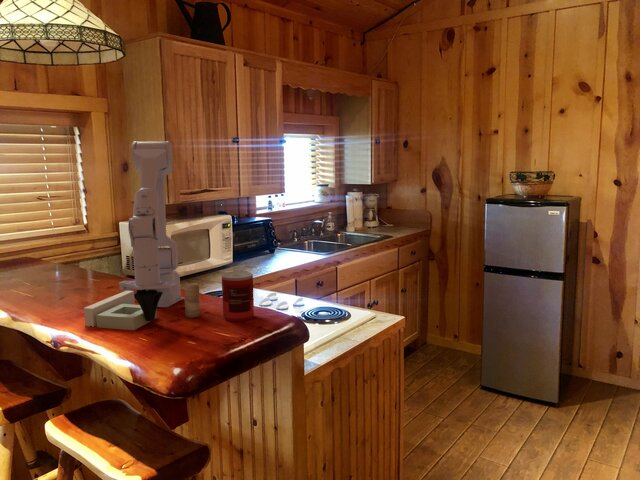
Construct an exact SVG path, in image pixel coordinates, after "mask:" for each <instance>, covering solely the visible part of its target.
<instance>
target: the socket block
mask: <svg viewBox="0 0 640 480" xmlns="http://www.w3.org/2000/svg"><path fill="white" fill-rule="evenodd" d="M157 309H158V308H157ZM157 309H156V313H155V319H157V318H158V310H157ZM96 317H97V326H96V327H97V328H101V329H102V328H103V329H115V330H124V331H125V330H128V331H136V330H137V329H139V328H140V327H142V326H145V325H146V324H147V325H148V323H151V321H146V320H145V317H144V314H143V311H142V309H141V307H140V305H139V304H135V305H132V304H120V305H118V306H116V307H113V308H111V309H109V310H107V311H105V312H102V313H100V314H98V315H96ZM155 319H154V320H155Z"/></svg>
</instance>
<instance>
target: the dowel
mask: <svg viewBox="0 0 640 480" xmlns="http://www.w3.org/2000/svg"><path fill="white" fill-rule="evenodd" d="M183 290H184V309H185V310H184V312H185V313H184V314H185V317H186V318H190V319H192V318H193V319H194V318H197V317H200V315H201V306H200V301H201V300H200V284H199V283H197V282H196V283H185V284H184V288H183Z"/></svg>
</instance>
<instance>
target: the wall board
mask: <svg viewBox="0 0 640 480" xmlns="http://www.w3.org/2000/svg"><path fill="white" fill-rule="evenodd" d="M134 294H135V290H123V291H122V292H120V293H117V294H115V295H113V296H109V297H107V298H105V299H102V300H100V301H98V302H95V303H92V304H90V305H87V306H85V307H84V308H83V317H84V326H85V327H90V326H92V327H91V328H93V327H94V326H95V327H97V317H96V315H98V314H100V313H102V312H105V311H107V310H109V309H111V308H113V307H116V306H118V305H120V304H132V305H136V304H135V300H136V299H135V298H134ZM95 327H94V328H95Z"/></svg>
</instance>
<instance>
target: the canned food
mask: <svg viewBox="0 0 640 480" xmlns="http://www.w3.org/2000/svg"><path fill="white" fill-rule="evenodd" d="M221 295H222V296H221V297H222V313H223V314H222V315H223V318H224V319H225V321H228V320H229V321H230V322H235V321H238V322H246V321H250V320H252V319H253V318H254V314H255V309H254V308H255V303H254V301H255V299H254V276H253V273H252V272H249V271H243V270H241V271H237V270H235V271H230V272H229V271H228V272H224V273H222V275H221ZM249 319H250V320H249Z"/></svg>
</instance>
